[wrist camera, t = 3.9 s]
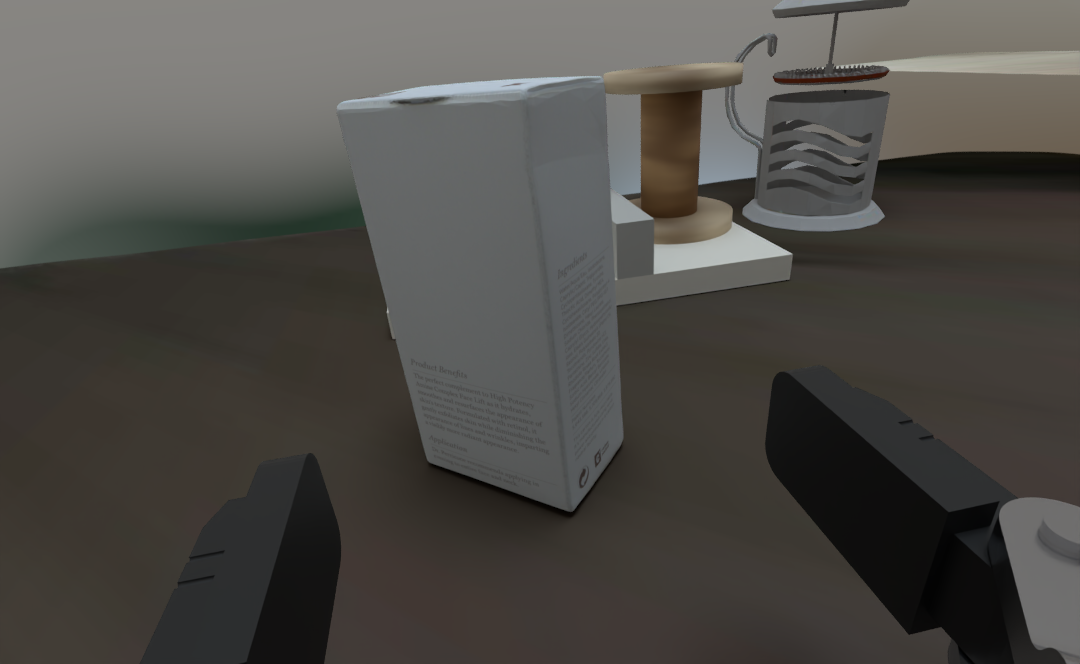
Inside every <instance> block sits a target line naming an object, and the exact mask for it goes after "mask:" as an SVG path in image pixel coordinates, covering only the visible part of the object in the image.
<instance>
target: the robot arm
mask: <svg viewBox="0 0 1080 664" xmlns="http://www.w3.org/2000/svg"><path fill="white" fill-rule="evenodd" d="M765 447H766V454H767V458H768V462H769V464H770V467H771V469H772V471H773V472H774V474H775V475H776V477H777V478H778V479H779V481H780V482H781V483H782V484H783V485H784V486H785V488H786V489H787V490H788V491H789V492H790V494H791V495H792V496H793V497H794V498H795V500H796V501H797V502H798V503H799V504H800V506H801V507H802V508H803V509H804V510H805V511H806V513H807V514H808V515H809V516H810V517H811V519H812V520H813V521H814V522H815V523H816V525H817V526H818V527H819V528H820V529H821V531H822V532H823V533H824V534H825V535H826V537H827V538H828V539H829V540H830V541H831V542H832V544H833V545H834V546H835V547H836V548H837V550H838V551H839V552H840V553H841V554H842V556H843V557H844V558H845V559H846V560H847V562H848V563H849V564H850V565H851V566H852V567H853V569H854V570H855V571H856V572H857V573H858V575H859V576H860V577H861V578H862V579H863V581H864V582H865V583H866V584H867V585H868V587H869V588H870V589H871V590H872V591H873V593H874V594H875V595H876V596H877V597H878V598H879V600H880V601H881V602H882V603H883V604H884V606H885V607H886V608H887V609H888V610H889V612H890V613H891V614H892V615H893V616H894V618H895V619H896V620H897V621H898V622H899V623H900V625H901V626H902V627H903V628H904V629H905V631H906V632H907V633H908V634H909V635H910V634H914V633H918V632H922V631H926V630H930V629H934V628H938V627H942V628H943V629H944V630H945V632H946V633H947V634H948V635H949V636H950V637H951V638H952V639H951V642H950V645H949V648H948V664H1080V507H1077V506H1074V505H1071V504H1068V503H1065V502H1061V501H1057V500H1051V499H1045V498H1034V497H1032V498H1020V499H1019V498H1017V497H1016V496H1015V495H1013V494H1012V493H1011V492H1009V491H1008V490H1007V489H1005V488H1004V487H1003V486H1001V485H1000V484H999V483H997V482H996V481H994V480H993V479H992V478H990V477H989V476H988V475H986V474H985V473H984V472H982V471H981V470H980V469H978V468H977V467H976V466H974V465H973V464H972V463H970V462H969V461H968V460H966V459H965V458H964V457H962V456H961V455H960V454H958V453H957V452H955V451H954V450H953V449H951V448H950V447H949V446H947V445H946V444H945V443H943V442H942V441H941V440H939V439H936V440H935V439H934V437H933V434H931V433H930V432H929V431H927V430H926V429H925V428H923V427H922V426H921V425H919V424H918V423H916V424H914V423H913V421H912V419H911V418H910V417H908V416H907V415H906V414H904V413H903V412H902V411H900V410H899V409H898V408H896V407H895V406H894V405H892V404H891V403H890V402H888V401H886V400H884V399H882V398H879V397H877V396H875V395H872V394H870V393H868V392H866V391H863V390H861V389H859V388H856V387H855V388H853V387H851V386H850V385H849V384H848V383H846V382H845V381H844V380H842V379H841V378H840V377H839V376H837V375H836V374H835V373H833V372H832V371H831V370H829V369H828V368H826V367H824V366H821V365H818V366H812V367H807V368H801V369H795V370H790V371H784V372H779V373H778V374H777V375H776V376H775V378H774V380H773V384H772V391H771V399H770V407H769V416H768V424H767V432H766V441H765ZM189 558H190V562H189V563H186V565H185V567H184V570H183V572H182V574H181V576H180V578H179V580H178V588H177V589H174V591H173V593H172V595H171V598H170V600H169V602H168V604H167V606H166V608H165V610H164V613H163V615H162V617H161V619H160V621H159V623H158V626H157V628H156V630H155V632H154V634H153V636H152V638H151V641H150V643H149V645H148V647H147V649H146V651H145V653H144V656H143V658H142V660H141V662H140V664H324V660H325V654H326V648H327V642H328V636H329V629H330V623H331V617H332V611H333V605H334V599H335V592H336V586H337V580H338V574H339V568H340V561H341V540H340V532H339V527H338V523H337V519H336V516H335V513H334V510H333V507H332V504H331V501H330V498H329V495H328V492H327V489H326V485H325V482H324V479H323V476H322V473H321V470H320V467H319V464H318V461H317V459H316V457H315V456H314V455H313V454H312V453H308V454H303V455H297V456H291V457H286V458H280V459H274V460H268V461H263V462H261V463H260V465H259V466H258V468H257V471H256V473H255V476H254V478H253V481H252V483H251V486H250V488H249V491H248V494H247V496H246V497H243V498H238V499H232V500H228V502H227V503H226V504H225V505H224V506H223V507H222V508H221V509H220V510H219V511H218V512H217V513H216V514H215V515H214V516H213V517H212V519H211V520H210V521H209V522H208V523H207V524H206V525H205V526H204V527H203V529H202V531H201V533H200V535H199V537H198V539H197V542H196V544H195V546H194V548H193V550H192V552H191V555H190V557H189Z"/></svg>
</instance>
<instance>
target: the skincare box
mask: <svg viewBox="0 0 1080 664" xmlns="http://www.w3.org/2000/svg"><path fill="white" fill-rule="evenodd" d="M337 116H338V119H339V123H340V127H341V130H342V134H343V138H344V142H345V146H346V149H347V153H348V157H349V161H350V164H351V168H352V172H353V176H354V180H355V184H356V188H357V192H358V196H359V199H360V202H361V206H362V211H363V214H364V218H365V222H366V226H367V230H368V234H369V238H370V242H371V246H372V249H373V253H374V257H375V261H376V265H377V269H378V273H379V276H380V280H381V284H382V288H383V292H384V296H385V300H386V303H387V307H388V311H389V315H390V319H391V323H392V327H393V331H394V335H395V339H396V342H397V346H398V350H399V354H400V358H401V361H402V365H403V369H404V373H405V377H406V381H407V384H408V388H409V392H410V396H411V400H412V404H413V408H414V412H415V416H416V420H417V424H418V428H419V432H420V436H421V440H422V444H423V447H424V451H425V455H426V458H427V460H428V462H430V463H432V464H435V465H437V466H440V467H443V468H446V469H449V470H452V471H455V472H458V473H461V474H464V475H466V476H469V477H472V478H475V479H478V480H480V481H483V482H486V483H489V484H492V485H495V486H497V487H500V488H503V489H506V490H509V491H511V492H514V493H517V494H520V495H523V496H525V497H528V498H531V499H534V500H537V501H539V502H542V503H545V504H548V505H551V506H554V507H557V508H559V509H562V510H565V511H568V512H572V511H574V510H575V508H576V507H577V505H578V504H579V503H580V502H581V500H582V499H583V498H584V496H585V495H586V494H587V493H588V491H589V490H590V489H591V487H592V486H593V484H594V483H595V482H596V480H597V479H598V477H599V476H600V475H601V473H602V472H603V471H604V469H605V468H606V466H607V465H608V464H609V462H610V461H611V459H612V458H613V456H614V455H615V453H616V452H617V450H618V449H619V447H620V446H621V444H622V441H623V423H622V406H621V384H620V365H619V349H618V330H617V309H616V289H615V272H614V252H613V234H612V213H611V191H610V177H609V162H608V152H607V151H608V144H607V115H606V96H605V85H604V80H603V79H602V77H601V76H583V77H551V78H530V79H511V80H496V81H482V82H469V83H458V84H446V85H435V86H425V87H424V86H423V87H417V88H411V89H406V90H401V91H397V92H392V93H386V94H381V95H375V96H369V97H364V98H358V99H354V100H349V101H344V102H342V103H340V104H339V105H338V106H337Z"/></svg>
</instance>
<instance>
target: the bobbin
mask: <svg viewBox="0 0 1080 664" xmlns="http://www.w3.org/2000/svg"><path fill="white" fill-rule="evenodd" d="M742 76H743V63H740V62H722V63H698V64H683V65H670V66H658V67H648V68H638V69H628V70H621V71H614V72H608V73H605V74H604V85H605V93H608V94H625V95H627V94H641V198H639V199H634V200H629V202H631V203H632V204H634V205H635V206H637V207H638V208H639V209H641V210H642V211H644V212H645V213H646V214H648V215H649V216H651V217H652V218H653V219H654V244H664V245H669V244H686V243H695V242H701V241H705V240H710V239H713V238H716V237H719V236H721V235H723V234H725V233H727V232H728V231H729V230H730V229H731V227H732V214H733V209H732V207H731V206H730V205H728V204H727V203H725V202H722V201H719V200H716V199H711V198H706V197H698V177H699V153H700V131H701V108H702V90H708V89H716V88H722V87H729V86H734V85H738V84H741V83H742Z"/></svg>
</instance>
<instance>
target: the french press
mask: <svg viewBox="0 0 1080 664" xmlns="http://www.w3.org/2000/svg"><path fill="white" fill-rule="evenodd" d="M908 2H909V0H783V1H782V2H780V3H779V4H778V5H777V6H776V7H775V8H774V9H773V14H774V16H775V18H787V17H798V16H809V15H820V14H821V15H822V14H832V13H835V17H834V24H833V32H832V39H831V47H830V54H829V63H828V64H827V65H826V67H824V69H823V70H822V68H821V67H820V68H818V70H817V68H814V70H812V68H811V69H809V70H808V68H807V69H804V70H803V69H801V70H800V69H796V70H791V71H783V72H777V73H775V74H774V76H773V79H774V81H775V82H776V83H779V84H784V85H785V84H786V85H822V84H841V83H854V82H862V81H869V80H875V79H880V78H882V77H884V76H886V75H887V73H888V72H889V71H890V70H889V69H888V68H887V67H884V66H874V65H872V66H870V67H869V66H866V67H865V68H864V66H863V65H862V67H861V68H860V65H858V67H857V68H855V67H856V66H855V65H854V67H853V68H850V67H851V66H849V68H847V69H845V68H846V67H845V66H844V69H841V67H840V66H839V69H836V66H835V67H834V64H832V58H833V51H834V43H835V35H836V28H837V21H838V14H839V13H843V12H853V11H863V10H874V9H884V8H893V7H902V6H906V5H907V3H908ZM765 39H768V54H769V56H770V57H772V56H773V55H774V54H775V52H776V46H777V37H776V35H775V34H770V33H768V34H763V35H761V36H760V37H758V38H757V39H755V40H754V41H752V42H751V43H749V44H748V45H747V46H746V47H745V48H744V49H743V50H742V51H741V52H740V53H739V54H738V55H737V57H736V59H735V61H734V62H738V61H739V59H740V58H741V59H740V61H739V62H740V63H742V62H743V60H744V59H745V57H746V55H747V54H748V53H749V52H750V51H751V50H752V49H753V48H754V47H755V46H756V45H757V44H759V43H761V42H762V41H764V40H765ZM772 42H773V47H772ZM741 56H742V57H741ZM871 67H872V68H871ZM873 67H874V68H873ZM833 68H834V69H833ZM805 70H807V71H805ZM810 70H812V71H810ZM794 71H795V72H794ZM797 71H798V72H797ZM787 72H788V73H787ZM863 79H866V80H863ZM855 80H856V81H855ZM824 82H828V83H824ZM734 90H735V85H734V86H731V96H730V100H731V106H732V111H733V114H734V117H735V120H736V122H737V125H738V126H739V127H740V128H741V129H742V130H743V131H744V132H745V133H746V134H747V135H749V136H751V137H753V138H755V139H756V140H758V141H760V142H761V143H762V145H763V148H762V149H761V146H760V145H759V144H758V143H757V142H756V141H754V140H752V139H750V138H748V137H746V136H744V135H743V134H742V133H741V132H740V131H739V129H738V128H737V127H736V126H735V124H734V122H733V119H732V117H731V114H730V109H729V103H728V97H729V87H725V106H726V112H727V117H728V119H729V121H730V124H731V126H732V128H733V129H734V130H735V131H736V132H737V133H738V134H739V135H740V136H741V138H743V139H745V140H747V141H748V142H750V143H752V144H753V145H755V146H756V147H757V148H758V151H759V152H758V153H759V154H758V164H757V176H756V189H755V199H753V200H752V201H750V202H749V203H748V204H747V205H746V206H745V207H744V208H743V213H742V215H744V216H745V217H747V218H748V219H749V220H751V221H753V222H756V223H760V224H763V225H767V226H770V227H775V228H783V229H791V230H798V231H838V230H849V229H858V228H862V227H866V226H869V225H873V224H876V223H878V222H879V221H880V220H881V219H882V218H883V217H885V216H884V214H883V213H882V211H881V210H880V208H879V207H878V206H877V205H876V204H875V203H874V201H873V200H871V197H872V191H873V186H874V180H875V174H876V169H877V163H878V158H879V152H880V146H881V141H882V135H883V130H884V124H885V119H886V113H887V107H888V101H889V96H890V94H889V93H888V92H883V91H874V90H830V91H829V90H827V91H812V92H811V91H810V92H799V93H788V94H782V95H775V96H773V97H770V98H769V100H767V105H766V115H765V126H764V137H763V139H762V138H760V137H758V136H756V135H754V134H753V133H751V132H749V131H748V130H747V129H746V128H745V127H744V126H743V125H742V124H741V122H740V120H739V117H738V115H737V112H736V109H735V103H734ZM790 120H794V121H792V122H790V123H788V124H786V121H790ZM810 124H818V125H822V126H825V127H827V128H829V129H832V130H834V131H837V132H839V133H841V134H843V135H846V136H848V137H849V138H851V139H854V140H856V141H859V142H862V143H867V144H865V145H863V146H861V147H852V146H848V145H846V144H844V143H842V142H841V141H839V140H837V139H835V138H833V137H831V136H830V135H827V134H821V133H816V132H806V131H801V130H793V129H795V128H798V127H802V126H806V125H810ZM871 132H872V133H871ZM800 143H809V144H813V145H817V146H819V147H821V148H823V149H826V150H828V151H831V152H833V153H835V154H837V155H840V156H846V157H852V158H855V159H857V160H860V161H867V162H865V163H863V164H861V165H859V166H857V167H854V166H852V165H850V164H847V163H845V162H843V161H841V160H840V159H837V158H836V157H834V156H832V155H831V154H829V153H827V152H825V151H819V150H813V149H807V150H803V151H799V150H796V149H794V150H786V149H788V148H790V147H792V146H793V145H797V144H800ZM785 150H786V151H785ZM793 161H801V162H804V163H808V164H811V165H814V166H817V167H814V166H808V165H807V166H802V167H798V168H794V169H783V170H781V168H782V167H784V166H786V165H787V164H789V163H791V162H793ZM834 174H835V175H834ZM836 175H838V176H846V177H856V178H863V179H864V180H863V181H862V182H860V183H858V184H856V185H854V184H852V183H850V182H847V181H845V180H843V179H841V178H839V177H838V176H836Z"/></svg>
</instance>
